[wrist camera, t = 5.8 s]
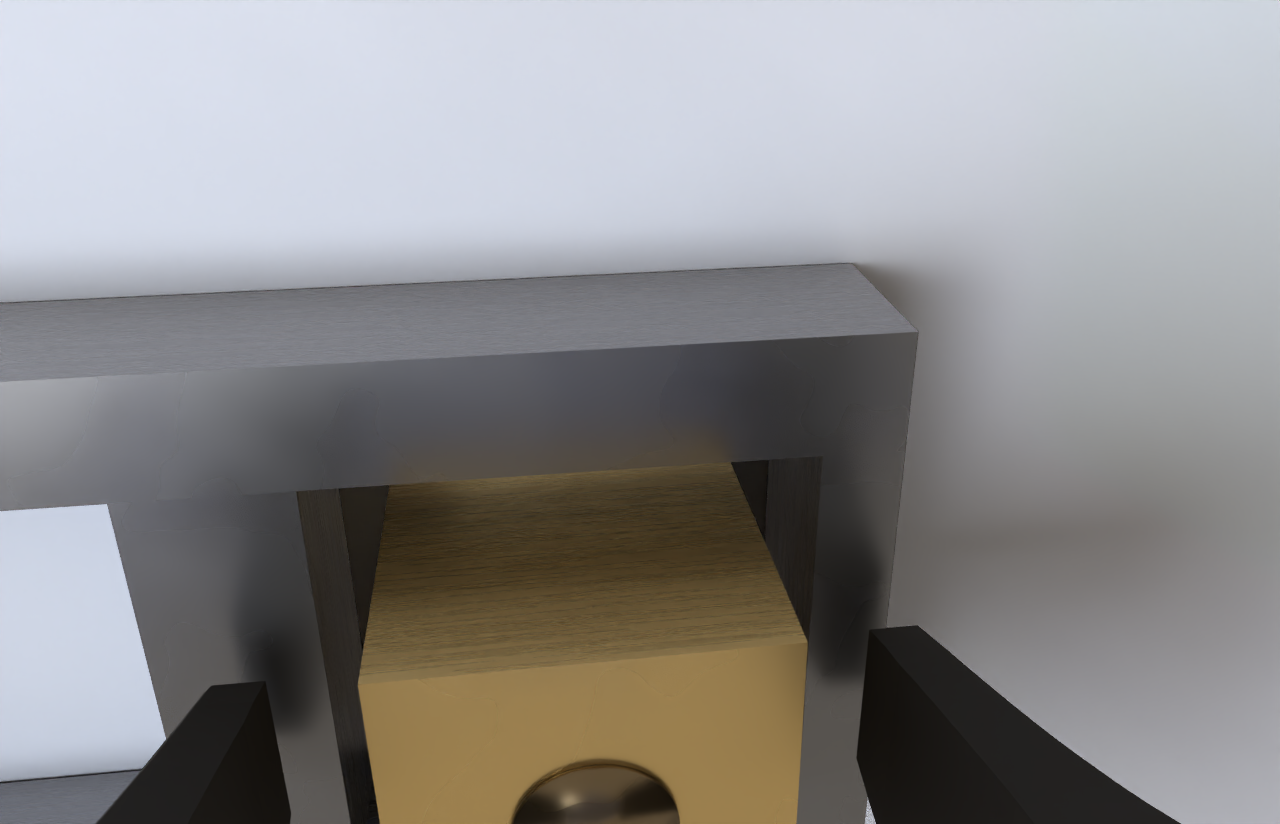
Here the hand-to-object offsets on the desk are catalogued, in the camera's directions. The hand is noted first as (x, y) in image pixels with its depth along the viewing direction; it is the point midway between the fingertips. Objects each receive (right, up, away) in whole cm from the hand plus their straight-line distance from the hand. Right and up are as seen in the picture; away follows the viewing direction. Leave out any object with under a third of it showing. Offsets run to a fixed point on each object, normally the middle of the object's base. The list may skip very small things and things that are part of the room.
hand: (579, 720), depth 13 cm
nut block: (0, +1, +3) cm, 3 cm away
